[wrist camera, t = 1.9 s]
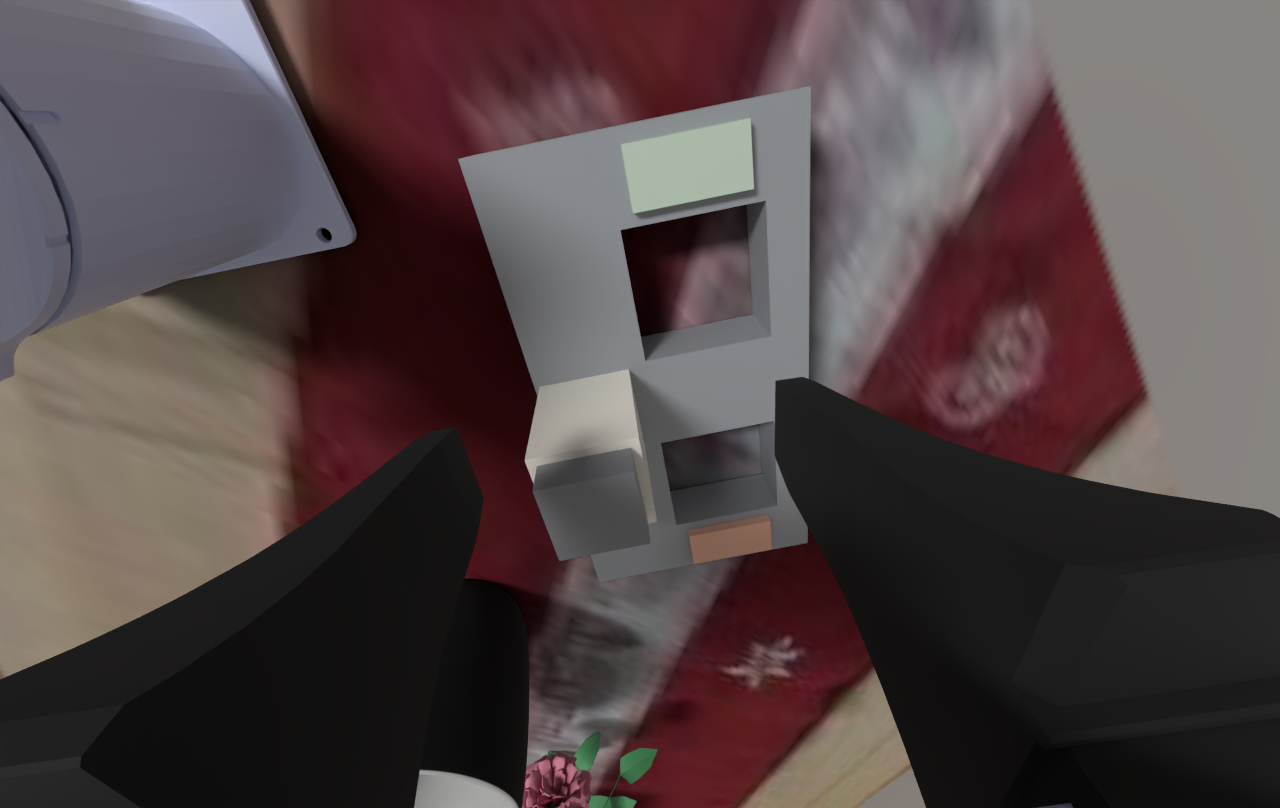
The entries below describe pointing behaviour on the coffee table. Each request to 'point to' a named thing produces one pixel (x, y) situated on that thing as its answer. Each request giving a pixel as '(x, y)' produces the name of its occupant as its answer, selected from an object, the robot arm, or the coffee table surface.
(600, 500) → the plug
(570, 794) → the flower vase
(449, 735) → the mug
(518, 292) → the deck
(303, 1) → the coffee table surface
